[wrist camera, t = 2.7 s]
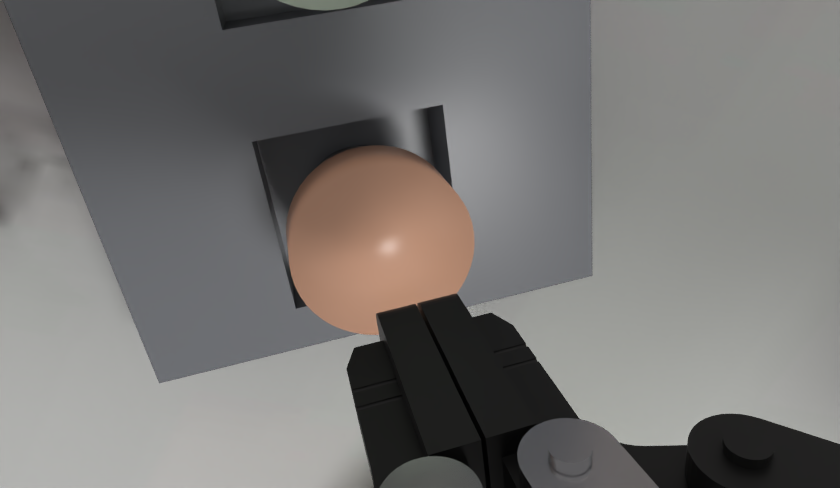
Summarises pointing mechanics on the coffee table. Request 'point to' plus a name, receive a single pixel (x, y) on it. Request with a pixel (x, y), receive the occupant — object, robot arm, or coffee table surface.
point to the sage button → (323, 4)
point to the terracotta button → (376, 236)
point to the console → (307, 144)
